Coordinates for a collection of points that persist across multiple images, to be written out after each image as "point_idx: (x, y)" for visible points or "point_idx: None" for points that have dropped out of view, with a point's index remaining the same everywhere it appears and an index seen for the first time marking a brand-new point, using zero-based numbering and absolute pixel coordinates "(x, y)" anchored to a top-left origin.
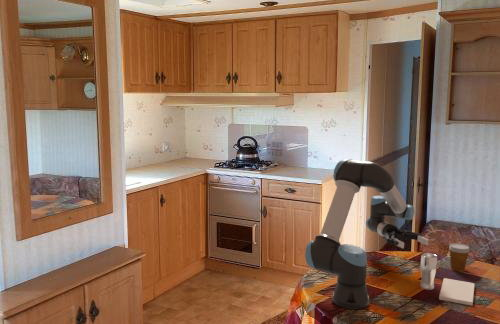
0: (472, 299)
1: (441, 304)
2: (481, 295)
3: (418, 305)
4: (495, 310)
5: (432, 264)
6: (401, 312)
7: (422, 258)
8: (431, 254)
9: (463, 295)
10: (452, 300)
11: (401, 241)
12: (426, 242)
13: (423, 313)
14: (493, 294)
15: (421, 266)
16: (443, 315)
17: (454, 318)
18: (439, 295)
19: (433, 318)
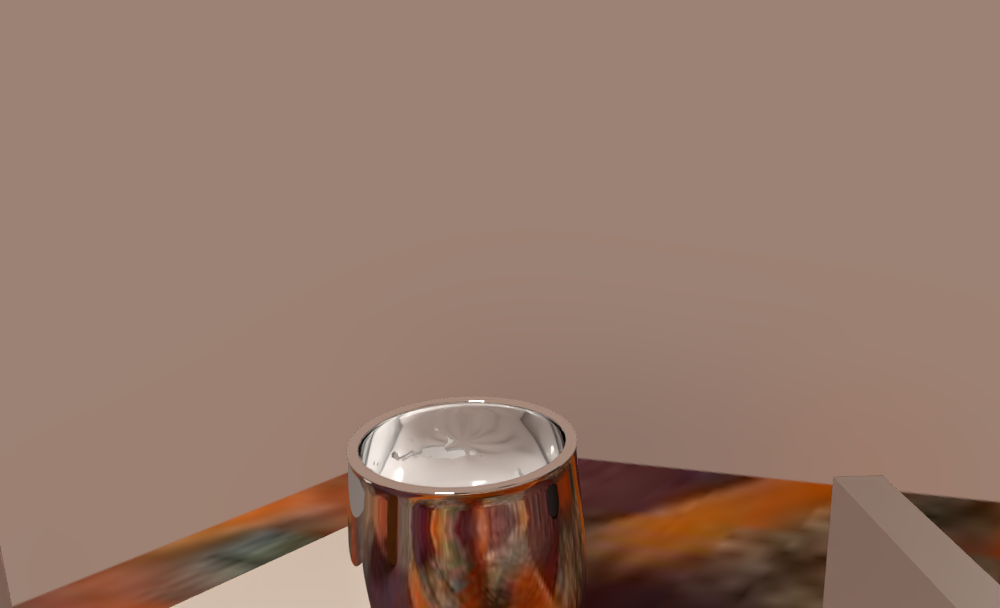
0: None
1: (602, 569)
2: (158, 604)
3: (803, 588)
4: (323, 482)
5: (495, 475)
6: (979, 548)
7: (578, 478)
8: (365, 476)
9: None
10: None
11: (902, 542)
12: (3, 589)
13: (808, 520)
14: (52, 598)
15: (584, 599)
16: (682, 492)
17: (635, 469)
18: None
19: (765, 483)
